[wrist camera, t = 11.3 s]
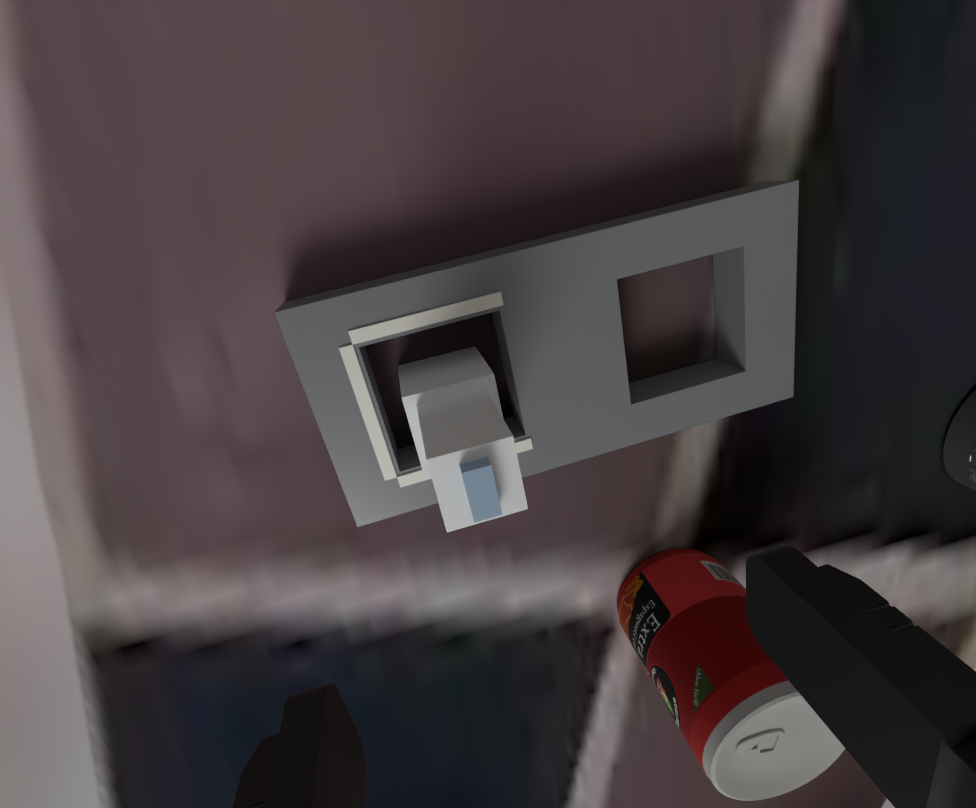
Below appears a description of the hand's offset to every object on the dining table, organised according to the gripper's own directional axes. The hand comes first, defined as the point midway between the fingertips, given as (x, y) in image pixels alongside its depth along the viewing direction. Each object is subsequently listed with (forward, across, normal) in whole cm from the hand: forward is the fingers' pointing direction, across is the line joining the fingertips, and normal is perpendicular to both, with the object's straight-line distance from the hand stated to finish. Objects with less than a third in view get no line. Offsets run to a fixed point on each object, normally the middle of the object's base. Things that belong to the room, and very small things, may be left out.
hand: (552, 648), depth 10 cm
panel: (+18, -6, 0) cm, 19 cm away
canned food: (+18, -11, +19) cm, 29 cm away
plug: (+18, 0, +1) cm, 18 cm away
